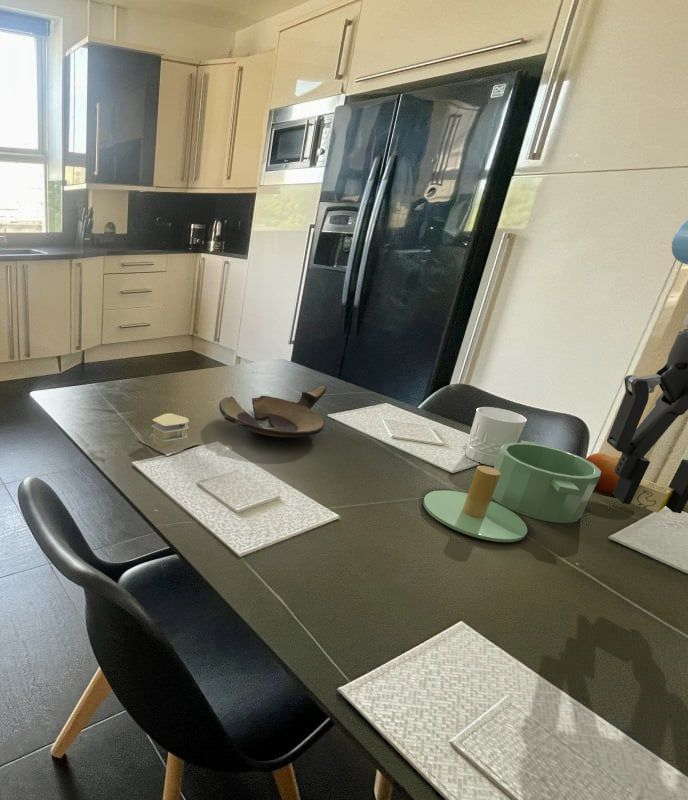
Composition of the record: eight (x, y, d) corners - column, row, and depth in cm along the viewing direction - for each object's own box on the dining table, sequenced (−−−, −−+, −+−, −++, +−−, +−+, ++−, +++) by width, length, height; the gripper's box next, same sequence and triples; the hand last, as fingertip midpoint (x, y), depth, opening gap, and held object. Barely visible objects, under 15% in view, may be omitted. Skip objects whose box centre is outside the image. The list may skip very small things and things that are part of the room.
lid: (509, 507, 83) (527, 460, 80) (538, 555, 72) (561, 502, 68) (416, 489, 89) (430, 444, 85) (429, 530, 77) (446, 480, 74)
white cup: (468, 446, 105) (482, 404, 101) (514, 460, 99) (531, 415, 96) (456, 457, 100) (471, 413, 97) (504, 472, 95) (521, 426, 91)
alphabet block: (632, 496, 67) (641, 477, 66) (665, 507, 65) (675, 488, 64) (624, 502, 66) (633, 482, 65) (657, 514, 63) (667, 494, 62)
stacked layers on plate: (167, 457, 99) (169, 432, 97) (137, 441, 105) (139, 417, 103) (200, 444, 104) (203, 421, 102) (170, 430, 111) (172, 407, 109)
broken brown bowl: (198, 414, 120) (202, 385, 117) (309, 407, 125) (314, 379, 122) (240, 456, 99) (245, 422, 96) (370, 447, 104) (378, 414, 101)
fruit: (556, 466, 94) (599, 440, 90) (594, 494, 92) (640, 469, 88) (567, 485, 88) (614, 457, 83) (609, 516, 86) (659, 489, 82)
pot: (556, 485, 90) (573, 444, 87) (603, 541, 75) (626, 494, 72) (474, 470, 95) (488, 431, 92) (502, 519, 80) (520, 475, 77)
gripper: (647, 332, 57) (574, 502, 65) (873, 349, 50) (759, 535, 59) (615, 320, 63) (552, 476, 72) (812, 333, 56) (717, 504, 65)
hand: (645, 502), depth 65 cm, fingers closed on alphabet block, 4 cm apart
